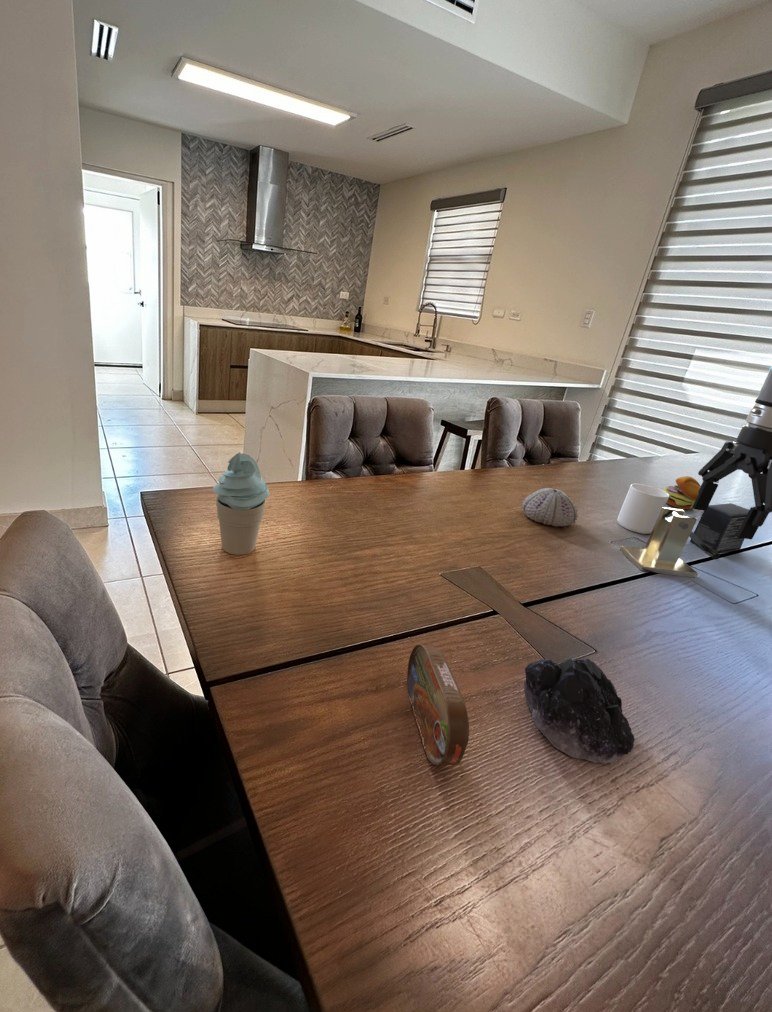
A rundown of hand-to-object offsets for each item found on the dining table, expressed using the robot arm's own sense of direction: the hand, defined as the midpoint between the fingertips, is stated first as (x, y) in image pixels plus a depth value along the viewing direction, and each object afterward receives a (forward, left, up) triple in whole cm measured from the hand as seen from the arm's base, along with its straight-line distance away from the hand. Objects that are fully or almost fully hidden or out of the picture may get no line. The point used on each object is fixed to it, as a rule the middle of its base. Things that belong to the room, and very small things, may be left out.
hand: (719, 522), depth 102 cm
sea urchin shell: (+31, -11, -12) cm, 35 cm away
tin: (+55, +67, -12) cm, 88 cm away
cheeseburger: (-12, -46, -12) cm, 49 cm away
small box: (-10, -17, -12) cm, 23 cm away
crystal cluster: (+37, +59, -12) cm, 71 cm away
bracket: (+9, +2, -12) cm, 15 cm away
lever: (+5, +1, -5) cm, 7 cm away
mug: (+7, -20, -12) cm, 24 cm away
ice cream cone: (+95, +39, -12) cm, 103 cm away
